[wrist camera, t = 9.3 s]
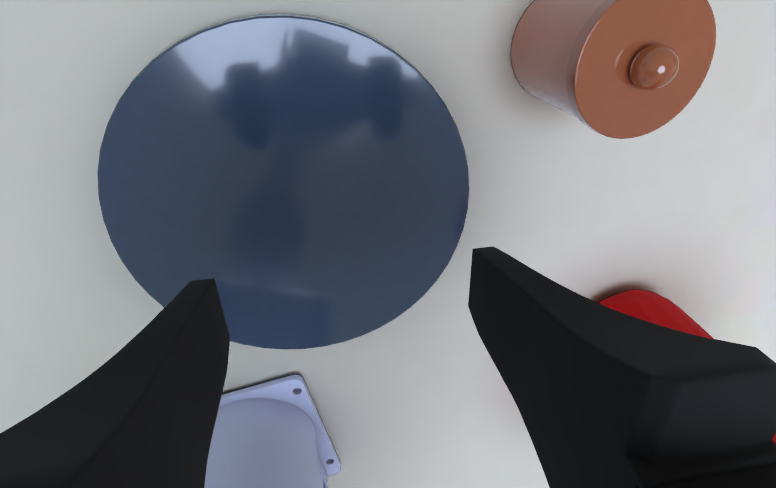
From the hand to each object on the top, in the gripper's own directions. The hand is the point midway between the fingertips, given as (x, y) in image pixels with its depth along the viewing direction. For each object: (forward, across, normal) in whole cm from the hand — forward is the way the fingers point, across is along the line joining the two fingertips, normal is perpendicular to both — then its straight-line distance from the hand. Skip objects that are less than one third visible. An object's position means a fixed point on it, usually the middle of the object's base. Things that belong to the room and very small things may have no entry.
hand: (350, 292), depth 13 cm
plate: (+9, +2, +1) cm, 10 cm away
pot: (+9, -10, -5) cm, 15 cm away
